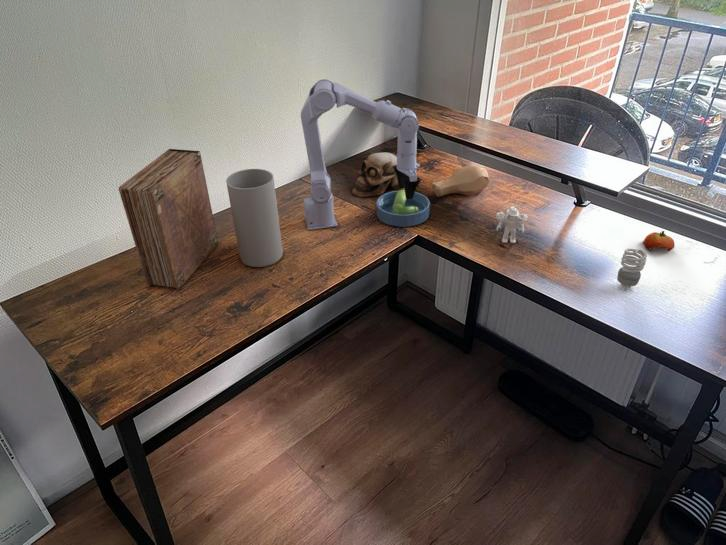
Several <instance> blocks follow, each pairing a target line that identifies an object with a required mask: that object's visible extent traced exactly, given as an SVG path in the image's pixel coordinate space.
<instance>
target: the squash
mask: <svg viewBox="0 0 726 545" xmlns="http://www.w3.org/2000/svg"><path fill="white" fill-rule="evenodd" d="M489 178H490V177H489V173H488V171H487V168H486V167H485V166H482V165H477V164H468V165H465V166H463V167H461V168H458V169H455V170H454V171H453V172H452V174H451V176H449V177H448V178H446V179H444V180H441V181H433V183H432V185H431V188H432V191H433V192H434V194H435V195H436V197H437V198H440V197H443V196H446V195H451V194H461V195H464V196H473V195H478V194H480V193H481V192H482V191H483V190H485V189H486V188H487V187H488V185H489V183H490V179H489Z"/></svg>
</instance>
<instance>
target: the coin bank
mask: <svg viewBox="0 0 726 545" xmlns="http://www.w3.org/2000/svg"><path fill="white" fill-rule="evenodd" d="M395 165H397V154H394V153H391V152H375V153H371V154H370V155H368V157H366V159H364V160H363V161H362V164H361V165H360V167H359V170H358V172H356V174H357V176H359V177H358V178H357V179H356V183H355V186H354V188H353V189H352V190H351V193H352V194H353V195H354V196H356V197H360V198H366V197H369V198H370V197H375V196H379V197H380V196H381V195H383V194H385V192H386V189H394V188H397V186H399V185H398V180H397V176H396V173H395V170H394V168H393V166H395Z"/></svg>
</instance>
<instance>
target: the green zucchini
mask: <svg viewBox="0 0 726 545" xmlns="http://www.w3.org/2000/svg"><path fill="white" fill-rule="evenodd" d="M418 212H419V209H418V207H416V206H408V207H401V208H395V209H394V210H393V211H392V214H399V215H408V214H414V213H418Z"/></svg>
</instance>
